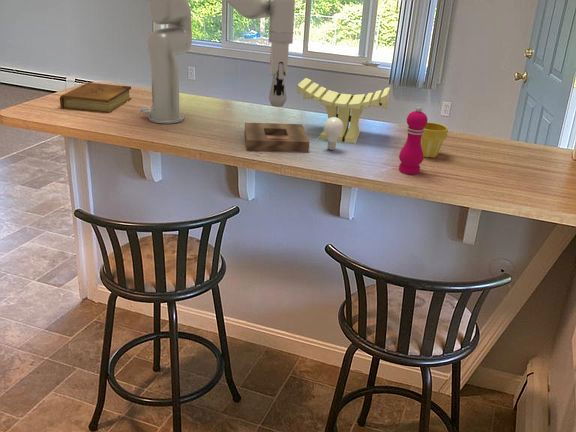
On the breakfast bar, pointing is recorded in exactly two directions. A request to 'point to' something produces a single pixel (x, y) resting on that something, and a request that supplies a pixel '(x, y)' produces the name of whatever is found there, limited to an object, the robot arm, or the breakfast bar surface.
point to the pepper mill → (413, 143)
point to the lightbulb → (333, 131)
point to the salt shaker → (274, 99)
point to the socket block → (276, 137)
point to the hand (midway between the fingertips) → (277, 95)
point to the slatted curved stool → (343, 106)
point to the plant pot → (433, 138)
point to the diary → (95, 98)
